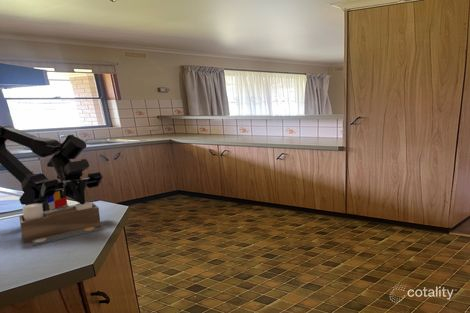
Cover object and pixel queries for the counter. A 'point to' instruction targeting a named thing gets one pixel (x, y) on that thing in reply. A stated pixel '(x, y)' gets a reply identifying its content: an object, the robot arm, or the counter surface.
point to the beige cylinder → (83, 206)
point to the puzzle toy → (57, 199)
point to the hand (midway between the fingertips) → (83, 203)
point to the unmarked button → (33, 211)
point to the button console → (59, 222)
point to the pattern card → (63, 235)
